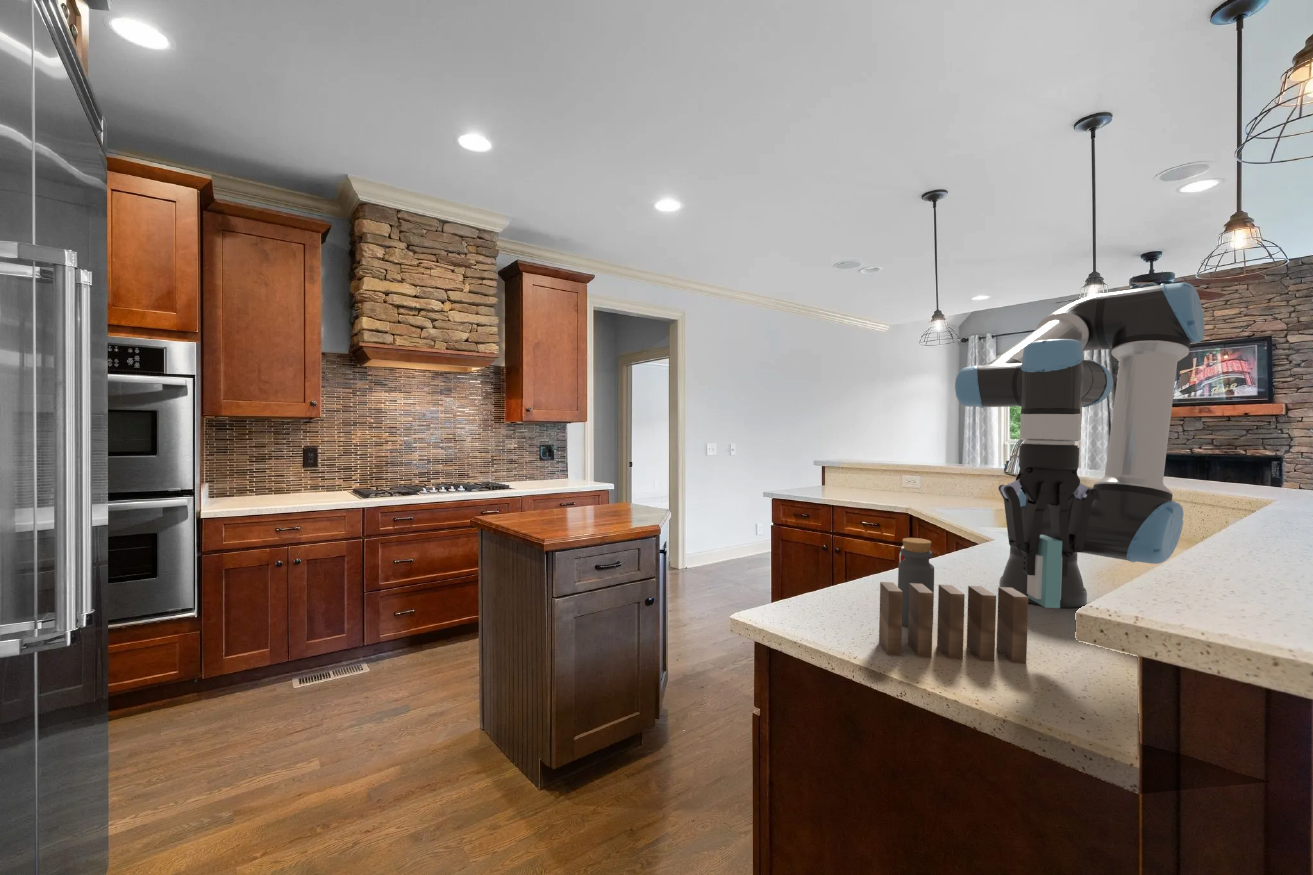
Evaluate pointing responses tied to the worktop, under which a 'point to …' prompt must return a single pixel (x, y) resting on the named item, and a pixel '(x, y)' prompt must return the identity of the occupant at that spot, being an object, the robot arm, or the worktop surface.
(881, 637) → the tile
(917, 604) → the tile
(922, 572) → the bottle
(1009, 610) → the tile
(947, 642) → the tile
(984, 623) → the tile
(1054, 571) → the tile
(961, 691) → the worktop surface
